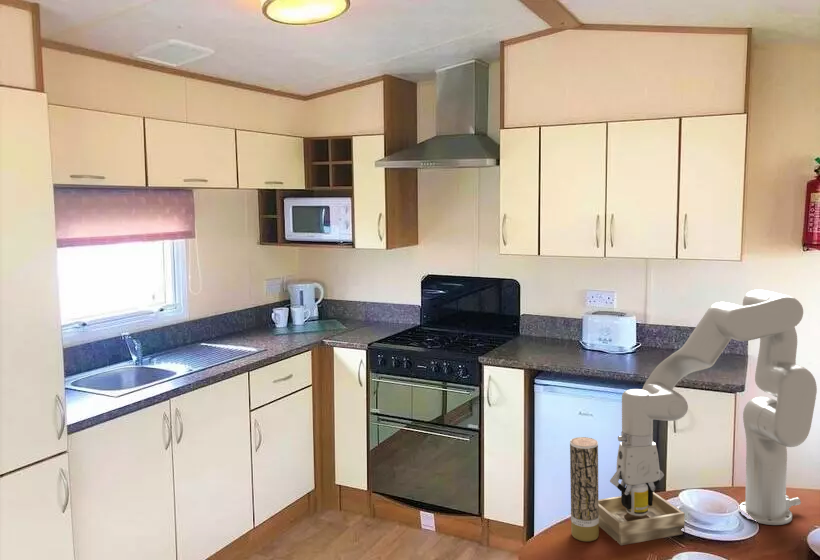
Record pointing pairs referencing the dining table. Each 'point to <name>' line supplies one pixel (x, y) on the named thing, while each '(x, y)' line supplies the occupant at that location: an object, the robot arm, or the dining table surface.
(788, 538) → the dining table surface
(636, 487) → the supplement bottle
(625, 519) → the pine box
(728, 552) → the dining table surface
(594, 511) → the brown bark cylinder
